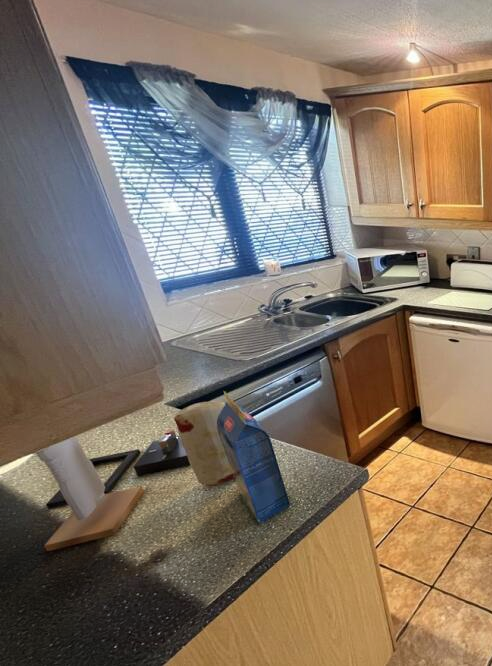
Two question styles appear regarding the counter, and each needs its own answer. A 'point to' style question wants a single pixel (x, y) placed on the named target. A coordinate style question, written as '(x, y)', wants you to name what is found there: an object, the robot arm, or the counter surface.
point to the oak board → (96, 520)
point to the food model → (204, 442)
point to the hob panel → (161, 459)
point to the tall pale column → (74, 476)
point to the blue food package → (252, 461)
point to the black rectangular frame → (114, 478)
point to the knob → (168, 441)
